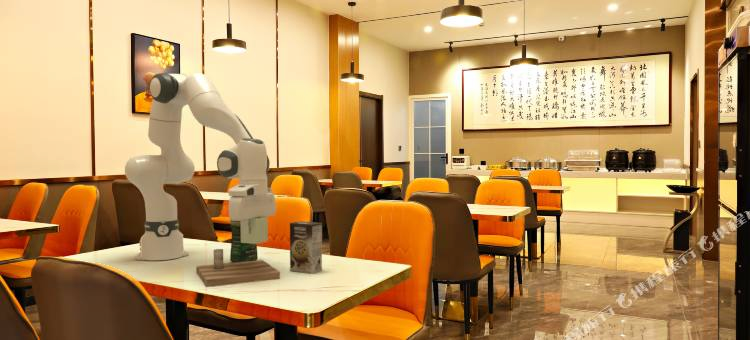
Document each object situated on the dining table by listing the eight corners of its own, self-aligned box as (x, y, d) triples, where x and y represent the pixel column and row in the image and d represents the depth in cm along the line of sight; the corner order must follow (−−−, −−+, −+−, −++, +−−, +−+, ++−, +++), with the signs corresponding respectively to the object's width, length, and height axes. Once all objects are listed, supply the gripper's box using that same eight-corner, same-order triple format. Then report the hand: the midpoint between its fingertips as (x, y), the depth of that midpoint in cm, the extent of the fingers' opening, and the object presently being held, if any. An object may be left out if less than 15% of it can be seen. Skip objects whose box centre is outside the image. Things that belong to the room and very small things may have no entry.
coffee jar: (242, 265, 184) (242, 212, 183) (226, 263, 188) (225, 211, 187) (261, 260, 192) (261, 210, 192) (246, 258, 196) (245, 209, 196)
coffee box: (289, 271, 173) (288, 222, 173) (300, 267, 179) (300, 220, 179) (311, 273, 169) (311, 224, 169) (322, 270, 175) (322, 222, 174)
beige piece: (240, 242, 166) (240, 217, 165) (252, 240, 171) (252, 215, 171) (256, 243, 163) (255, 218, 163) (267, 240, 169) (267, 216, 168)
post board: (196, 272, 173) (196, 248, 173) (262, 265, 183) (261, 242, 183) (206, 286, 153) (206, 259, 153) (279, 278, 163) (279, 252, 163)
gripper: (264, 187, 178) (265, 227, 178) (224, 190, 159) (225, 236, 159) (280, 187, 175) (280, 228, 175) (241, 191, 156) (242, 237, 157)
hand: (254, 232), depth 167 cm, fingers closed on beige piece, 6 cm apart
